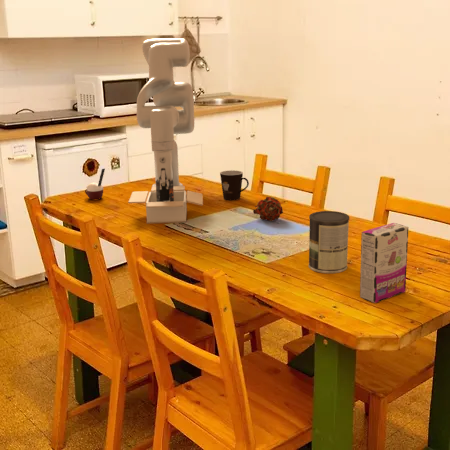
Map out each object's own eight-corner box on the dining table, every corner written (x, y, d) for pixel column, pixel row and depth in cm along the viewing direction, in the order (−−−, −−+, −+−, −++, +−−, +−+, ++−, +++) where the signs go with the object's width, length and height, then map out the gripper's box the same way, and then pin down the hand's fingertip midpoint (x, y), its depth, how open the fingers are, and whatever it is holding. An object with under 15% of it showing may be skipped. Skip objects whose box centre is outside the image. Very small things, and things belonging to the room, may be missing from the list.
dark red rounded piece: (277, 229, 209) (258, 225, 219) (293, 211, 211) (274, 208, 222) (262, 210, 206) (244, 208, 216) (279, 192, 208) (260, 190, 218)
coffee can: (300, 268, 169) (301, 217, 165) (321, 257, 177) (322, 208, 173) (334, 276, 163) (336, 223, 159) (354, 265, 171) (356, 214, 167)
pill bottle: (173, 207, 216) (171, 174, 213) (155, 207, 217) (154, 174, 213) (174, 202, 222) (173, 170, 219) (157, 203, 222) (156, 171, 219)
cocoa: (83, 199, 248) (79, 169, 245) (97, 195, 252) (93, 166, 249) (96, 202, 241) (92, 171, 238) (110, 198, 245) (106, 168, 242)
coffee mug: (216, 197, 245) (216, 171, 242) (237, 194, 249) (236, 169, 246) (229, 204, 235) (229, 177, 232) (250, 201, 239) (250, 175, 236)
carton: (135, 207, 233) (134, 187, 231) (187, 205, 234) (186, 186, 232) (127, 229, 207) (126, 206, 205) (185, 227, 208) (184, 205, 205)
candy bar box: (389, 286, 156) (393, 221, 151) (406, 292, 152) (410, 226, 148) (357, 297, 150) (360, 230, 145) (374, 304, 146) (377, 235, 141)
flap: (187, 190, 226) (202, 193, 226) (187, 191, 226) (202, 195, 227) (186, 200, 212) (202, 204, 212) (186, 201, 212) (202, 205, 212)
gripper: (173, 150, 205) (175, 204, 211) (175, 141, 222) (177, 192, 227) (149, 150, 205) (152, 204, 210) (153, 142, 222) (155, 192, 227)
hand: (165, 197), depth 219 cm, fingers closed on pill bottle, 6 cm apart
